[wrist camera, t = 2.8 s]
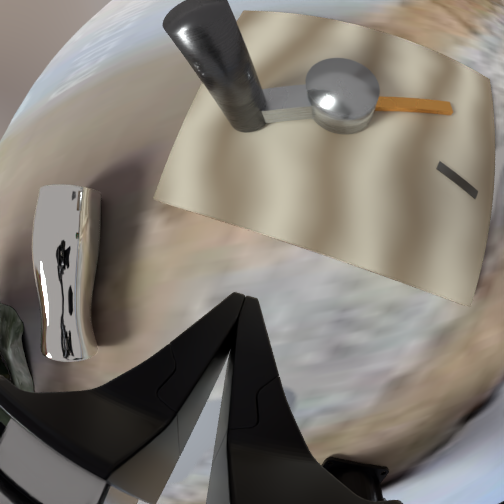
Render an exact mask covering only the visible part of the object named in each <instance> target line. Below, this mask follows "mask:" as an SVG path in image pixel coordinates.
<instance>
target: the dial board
mask: <svg viewBox="0 0 504 504" xmlns="http://www.w3.org/2000/svg"><path fill="white" fill-rule="evenodd" d="M237 25H238V27H239V29H240V32H241V34H242V37H243V39H244V42H245V44H246V47H247V49H248V52H249V55H250V57H251V60H252V63H253V65H254V68H255V71H256V73H257V76H258V79H259V81H260V84H261V87H262V89H267V88H275V87H283V86H293V85H304V84H306V76H307V73H308V71H309V70H310V68H311V67H312V66H313V65H315V64H316V63H318V62H320V61H322V60H325V59H329V58H345V59H350V60H353V61H356V62H358V63H360V64H362V65H364V66H365V67H367V68H368V69H369V70H370V71H371V72H372V73H373V74H374V76H375V77H376V79H377V81H378V83H379V87H380V95H379V96H384V97H406V98H420V99H430V100H440V101H448V102H450V104H451V107H452V110H453V113H452V114H451V115H442V114H431V113H418V112H400V111H374V114H373V117H372V120H371V122H370V123H369V125H368V126H367V127H366V128H364V129H363V130H361V131H359V132H357V133H353V134H337V133H333V132H330V131H327V130H325V129H324V128H322V127H321V126H319V125H318V124H317V123H316V122H315V121H314V120H313V119H302V120H291V121H281V122H273V123H266V124H265V125H264V126H263V127H262V128H260V129H259V130H257V131H254V132H248V133H244V132H240V131H237V130H235V129H234V128H233V127H232V126H231V124H230V123H229V121H228V120H227V118H226V117H225V115H224V114H223V112H222V110H221V109H220V107H219V106H218V104H217V103H216V101H215V100H214V99H213V97H212V96H211V94H210V93H209V91H208V90H207V88H206V87H205V85H204V84H203V83H202V84H201V86H200V88H199V91H198V93H197V95H196V97H195V99H194V101H193V103H192V105H191V107H190V109H189V111H188V114H187V116H186V118H185V120H184V122H183V125H182V127H181V129H180V131H179V134H178V136H177V138H176V141H175V143H174V146H173V148H172V150H171V153H170V155H169V158H168V160H167V163H166V165H165V168H164V171H163V173H162V176H161V179H160V181H159V184H158V187H157V190H156V192H155V195H154V198H153V199H154V200H157V201H159V202H162V203H165V204H168V205H171V206H174V207H178V208H181V209H184V210H187V211H190V212H194V213H197V214H200V215H203V216H206V217H210V218H213V219H216V220H219V221H222V222H225V223H228V224H231V225H235V226H238V227H241V228H244V229H247V230H250V231H253V232H256V233H259V234H262V235H265V236H268V237H271V238H274V239H277V240H280V241H283V242H286V243H289V244H292V245H295V246H298V247H301V248H304V249H307V250H310V251H313V252H316V253H319V254H322V255H325V256H328V257H331V258H334V259H336V260H339V261H342V262H345V263H348V264H351V265H354V266H357V267H359V268H362V269H365V270H368V271H371V272H374V273H376V274H379V275H382V276H385V277H388V278H391V279H393V280H396V281H399V282H402V283H404V284H407V285H410V286H413V287H415V288H418V289H421V290H424V291H426V292H429V293H432V294H434V295H437V296H440V297H443V298H445V299H448V300H451V301H453V302H456V303H459V304H461V305H465V306H468V307H470V306H471V303H472V300H473V297H474V293H475V290H476V286H477V283H478V279H479V275H480V271H481V267H482V262H483V258H484V253H485V248H486V243H487V237H488V231H489V225H490V218H491V210H492V200H493V190H494V175H495V127H494V112H493V101H492V93H491V85H490V79H488V78H487V77H485V76H483V75H482V74H480V73H478V72H476V71H474V70H473V69H471V68H469V67H467V66H465V65H463V64H461V63H459V62H457V61H455V60H453V59H451V58H449V57H447V56H445V55H443V54H441V53H438V52H436V51H434V50H431V49H429V48H427V47H424V46H422V45H419V44H417V43H414V42H411V41H409V40H406V39H403V38H400V37H397V36H394V35H391V34H388V33H385V32H381V31H378V30H375V29H371V28H367V27H363V26H360V25H355V24H351V23H347V22H342V21H337V20H332V19H327V18H321V17H315V16H308V15H301V14H292V13H282V12H268V11H243V12H242V14H241V16H240V17H239V19H238V20H237Z"/></svg>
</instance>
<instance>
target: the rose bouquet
mask: <svg viewBox="0 0 504 504" xmlns="http://www.w3.org/2000/svg"><path fill="white" fill-rule="evenodd" d="M23 330H24V329H23V322H22V321H21V320H20V318H19V316H18V315H17V313H16V311H15V310H14V309H13V308H12V307H11V306H7V305H4V304H1V303H0V353H1V354H2V356H3V358H4V359H5V362H6V364H7V366H8V369H9V371H10V374H11V379H12V383H13V385H14V386H16V387H17V388H19V389H21V390H24V391H28V392H34V390H33V387H34V386H33V381H32V377H31V375H30V373H29V369H28V367H27V363H26V359H25V354H24V351H23V346H22V340H21V336H22V333H23ZM0 375H2V376H4V377H5V378H6V379H7V380H9V381H10V375H9V372H8V370H7V368H6V366H5V364H4V363H3V362H2V359H1V355H0ZM10 419H11V417H10V416H9V415H7V414H6V413H5V412H4V411H3V410H2V409H1V408H0V421H1V422H2V423H3V424H4V425H5V426H7V424H8V423H9V421H10Z"/></svg>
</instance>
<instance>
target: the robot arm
mask: <svg viewBox="0 0 504 504" xmlns="http://www.w3.org/2000/svg"><path fill="white" fill-rule="evenodd" d="M229 352H230V353H229ZM228 355H229V358H228V363H227V370H226V376H225V382H224V389H223V395H222V402H221V408H220V415H219V421H218V428H217V434H216V441H215V447H214V454H213V460H212V467H211V473H210V480H209V487H208V494H207V500H206V504H403V503H402V502H401V501H399V500H389V501H387V500H386V499H385V498H383V495H382V490H381V486H380V483H381V482H382V480H383V479H384V478H385V477H386V475H387V474H388V473H389V471H388V468H387V467H381V466H375V465H368V464H363V463H357V462H352V461H347V460H342V459H338V458H333V457H329V458H327V459H326V460H325V461H324V462H323V464H322V465H320V464H319V463H318V462H317V461H316V460H315V458H314V457H313V456H312V454H311V453H310V451H309V449H308V447H307V445H306V443H305V441H304V438H303V436H302V434H301V432H300V430H299V428H298V425H297V423H296V421H295V419H294V416H293V414H292V412H291V409H290V407H289V405H288V402H287V400H286V396H285V393H284V390H283V387H282V383H281V380H280V377H278V376H279V373H278V370H277V366H276V362H275V359H274V355H273V352H272V348H271V344H270V341H269V337H268V333H267V330H266V326H265V323H264V319H263V315H262V312H261V308H260V304H259V301H258V299H257V298H254V297H251V296H246V297H245V295H244V294H240V293H237V292H233V293H232V294H231V295H229V296H228V297H227V298H226V299H224V300H223V301H222V302H221V303H219V304H218V305H217V306H216V307H214V308H213V309H212V310H211V311H209V312H208V313H207V314H206V315H204V316H203V317H202V318H201V319H199V320H198V321H197V322H196V323H194V324H193V325H192V326H191V327H189V328H188V329H187V330H186V331H184V332H183V333H182V334H181V335H179V336H178V337H177V338H175V339H174V340H173V341H172V342H170V344H168V345H166V346H165V347H164V348H163V349H161V350H160V351H159V352H157V353H156V354H154V355H153V356H152V357H150V358H149V359H147V360H146V361H144V362H142V363H141V364H139V365H138V366H136V367H134V368H132V369H131V370H129V371H127V372H125V373H124V374H122V375H120V376H118V377H117V378H115V379H113V380H111V381H109V382H108V383H106V384H104V385H102V386H100V387H97V388H94V389H90V390H85V391H70V392H41V393H36V392H28V391H24V390H21V389H19V388H17V387H16V386H14V385H13V384H12V383H11V382H10V381H9V380H7V379H6V378H5V377H4V376H2V375H0V408H1V409H2V410H3V411H4V412H5V413H6V414H7V415H9V416H10V417H11V419H10V421H9V423H8V424H7V426H5V425H4V424H3V423H2V422H1V421H0V504H137V502H138V500H142V501H144V502H146V503H149V504H156V503H157V501H158V499H159V497H160V495H161V493H162V491H163V489H164V487H165V485H166V483H167V481H168V479H169V477H170V475H171V473H172V471H173V469H174V467H175V465H176V463H177V461H178V459H179V456H180V455H181V453H182V451H183V449H184V447H185V445H186V443H187V441H188V439H189V437H190V435H191V433H192V431H193V429H194V427H195V425H196V422H197V421H198V419H199V416H200V414H201V412H202V410H203V408H204V406H205V404H206V402H207V400H208V398H209V396H210V393H211V391H212V389H213V387H214V385H215V383H216V381H217V379H218V377H219V374H220V372H221V370H222V368H223V366H224V364H225V362H226V359H227V357H228ZM328 462H332V463H328ZM383 471H385V472H383ZM498 504H504V501H503V502H501V503H498Z"/></svg>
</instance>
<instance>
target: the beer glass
mask: <svg viewBox="0 0 504 504" xmlns="http://www.w3.org/2000/svg"><path fill="white" fill-rule="evenodd" d="M100 220H101V193H100V192H99V191H97V190H94V189H91V188H87V187H82V186H76V185H63V184H56V185H47V186H43V187H41V188H40V189H39V193H38V198H37V203H36V208H35V214H34V220H33V229H32V262H33V270H34V277H35V283H36V289H37V294H38V300H39V305H40V314H41V352H42V354H43V355H44V356H45V357H47V358H49V359H52V360H56V361H62V362H75V361H82V360H86V359H89V358H91V357H93V356H95V355H96V354H97V352H98V347H97V343H96V339H95V335H94V331H93V327H92V319H91V304H92V295H93V288H94V282H95V275H96V269H97V262H98V255H99V243H100Z"/></svg>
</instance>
